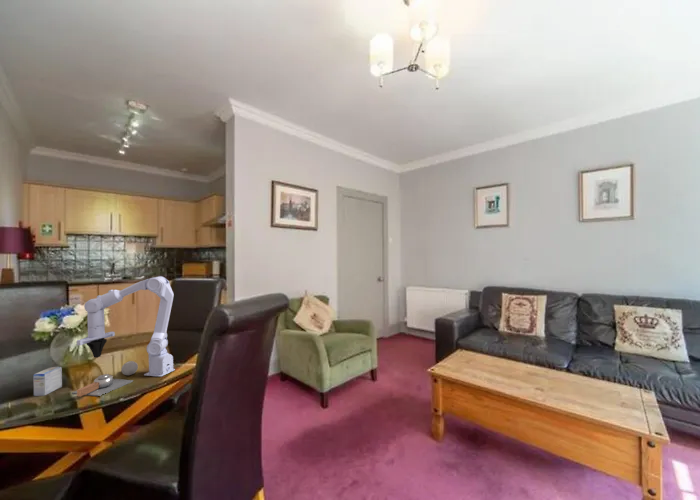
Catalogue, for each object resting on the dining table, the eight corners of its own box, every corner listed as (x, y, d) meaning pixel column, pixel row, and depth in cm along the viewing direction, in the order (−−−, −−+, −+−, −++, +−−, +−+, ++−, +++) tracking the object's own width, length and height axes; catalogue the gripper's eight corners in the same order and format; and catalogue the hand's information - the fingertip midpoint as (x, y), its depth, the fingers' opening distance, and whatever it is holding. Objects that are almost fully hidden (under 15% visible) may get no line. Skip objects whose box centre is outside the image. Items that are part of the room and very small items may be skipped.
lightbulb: (120, 376, 143) (124, 378, 136) (116, 363, 143) (121, 365, 136) (135, 370, 148) (140, 372, 140) (132, 358, 148) (137, 359, 140)
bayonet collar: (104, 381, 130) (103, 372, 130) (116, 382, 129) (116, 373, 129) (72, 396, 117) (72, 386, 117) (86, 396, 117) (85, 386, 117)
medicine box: (51, 387, 129) (50, 367, 129) (62, 386, 129) (61, 366, 129) (33, 396, 121) (32, 374, 121) (45, 395, 121) (45, 373, 121)
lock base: (133, 381, 132) (133, 380, 132) (99, 396, 118) (99, 395, 118) (107, 379, 135) (107, 378, 135) (72, 393, 122) (72, 392, 122)
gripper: (106, 321, 142) (106, 351, 142) (70, 329, 128) (71, 362, 128) (117, 322, 141) (118, 351, 141) (83, 330, 127) (84, 363, 127)
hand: (97, 357), depth 134 cm, fingers closed
